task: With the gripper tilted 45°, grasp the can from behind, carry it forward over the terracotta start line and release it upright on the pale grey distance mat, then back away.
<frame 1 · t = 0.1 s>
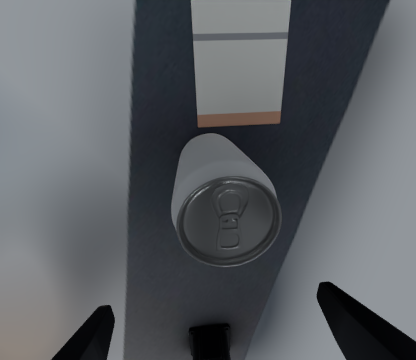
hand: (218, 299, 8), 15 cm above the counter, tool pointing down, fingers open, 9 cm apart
can: (208, 162, 22), on the counter
distance mat: (240, 43, 18), on the counter
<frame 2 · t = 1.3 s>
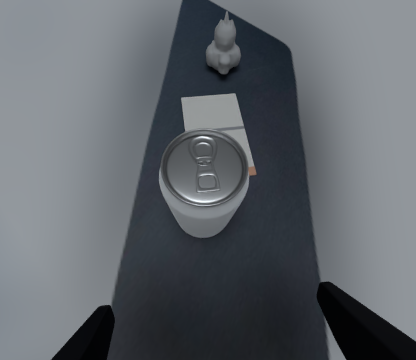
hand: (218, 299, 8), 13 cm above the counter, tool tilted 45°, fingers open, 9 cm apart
can: (202, 211, 24), on the counter
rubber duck: (221, 70, 33), on the counter
distance mat: (215, 133, 28), on the counter
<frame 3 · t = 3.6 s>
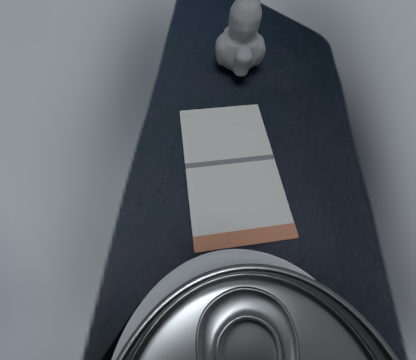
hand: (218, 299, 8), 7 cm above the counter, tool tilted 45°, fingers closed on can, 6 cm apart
can: (214, 306, 14), on the counter, touching gripper
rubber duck: (236, 70, 24), on the counter
distance mat: (231, 166, 18), on the counter
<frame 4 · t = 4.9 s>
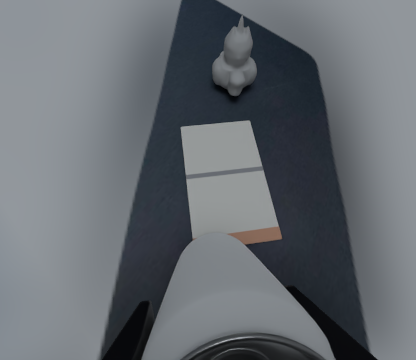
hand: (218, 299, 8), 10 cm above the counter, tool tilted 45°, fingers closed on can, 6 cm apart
can: (215, 270, 16), point 1 cm above the counter, touching gripper
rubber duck: (231, 88, 27), on the counter
distance mat: (225, 177, 21), on the counter
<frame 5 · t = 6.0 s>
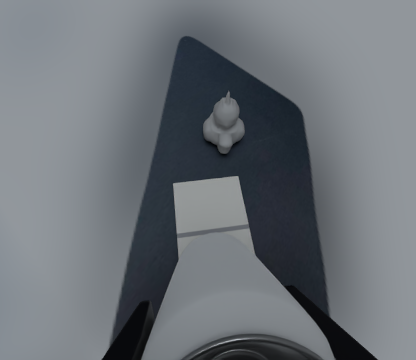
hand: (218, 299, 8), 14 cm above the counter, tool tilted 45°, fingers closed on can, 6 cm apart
can: (216, 270, 16), point 5 cm above the counter, touching gripper
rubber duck: (221, 141, 28), on the counter
distance mat: (214, 235, 23), on the counter
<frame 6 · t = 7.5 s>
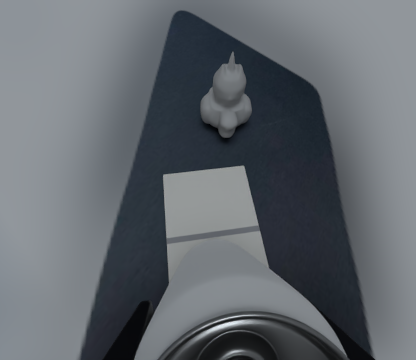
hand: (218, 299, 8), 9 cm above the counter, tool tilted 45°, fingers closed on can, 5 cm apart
can: (216, 279, 16), point 1 cm above the counter, touching distance mat, gripper
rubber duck: (223, 125, 23), on the counter
distance mat: (214, 240, 18), on the counter
when the fingers open (9 cm above the counter, at t = 7.8 s): can stays where it is, resting on distance mat.
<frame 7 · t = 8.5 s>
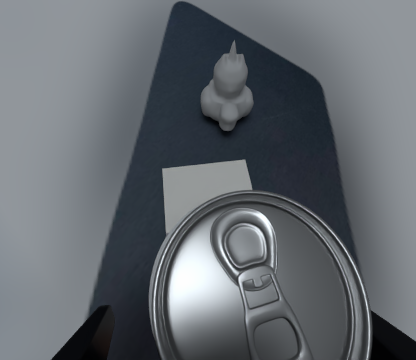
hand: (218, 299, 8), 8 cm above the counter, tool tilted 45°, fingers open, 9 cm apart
can: (216, 274, 16), resting on distance mat
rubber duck: (224, 118, 23), on the counter
distance mat: (215, 235, 17), on the counter
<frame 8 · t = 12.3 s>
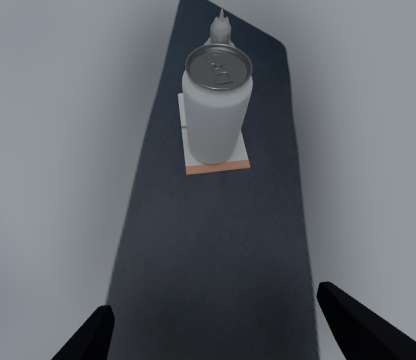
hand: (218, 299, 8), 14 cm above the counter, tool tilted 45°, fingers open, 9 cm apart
can: (211, 146, 28), resting on distance mat
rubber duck: (217, 67, 34), on the counter
distance mat: (211, 127, 29), on the counter
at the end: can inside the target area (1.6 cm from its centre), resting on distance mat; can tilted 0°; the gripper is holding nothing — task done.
